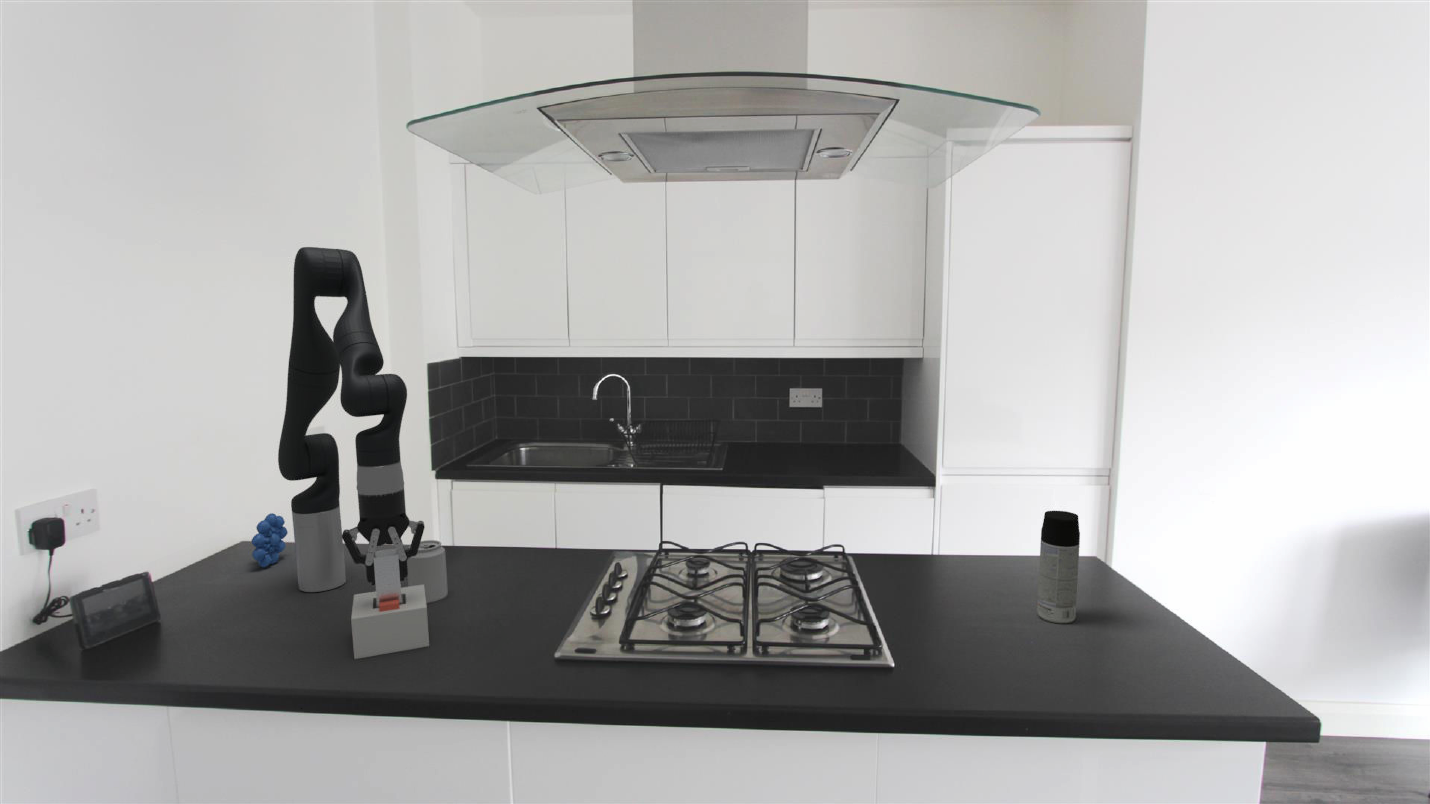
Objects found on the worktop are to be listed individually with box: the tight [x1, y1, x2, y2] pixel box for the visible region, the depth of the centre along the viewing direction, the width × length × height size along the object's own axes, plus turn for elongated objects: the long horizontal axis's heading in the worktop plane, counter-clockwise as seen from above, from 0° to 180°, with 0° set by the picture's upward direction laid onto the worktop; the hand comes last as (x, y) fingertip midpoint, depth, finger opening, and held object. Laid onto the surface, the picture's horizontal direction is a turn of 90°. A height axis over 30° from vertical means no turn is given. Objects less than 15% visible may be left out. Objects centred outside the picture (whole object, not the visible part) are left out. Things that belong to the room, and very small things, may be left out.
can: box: [407, 539, 449, 604], centre depth 158 cm, size 8×8×12 cm
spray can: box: [1037, 510, 1081, 624], centre depth 145 cm, size 7×7×20 cm
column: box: [373, 548, 403, 608], centre depth 138 cm, size 4×4×16 cm
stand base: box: [350, 585, 430, 660], centre depth 139 cm, size 14×14×9 cm
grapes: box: [251, 513, 289, 568], centre depth 182 cm, size 12×7×12 cm, turn 177°
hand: (387, 581), depth 138 cm, fingers closed on column, 4 cm apart
